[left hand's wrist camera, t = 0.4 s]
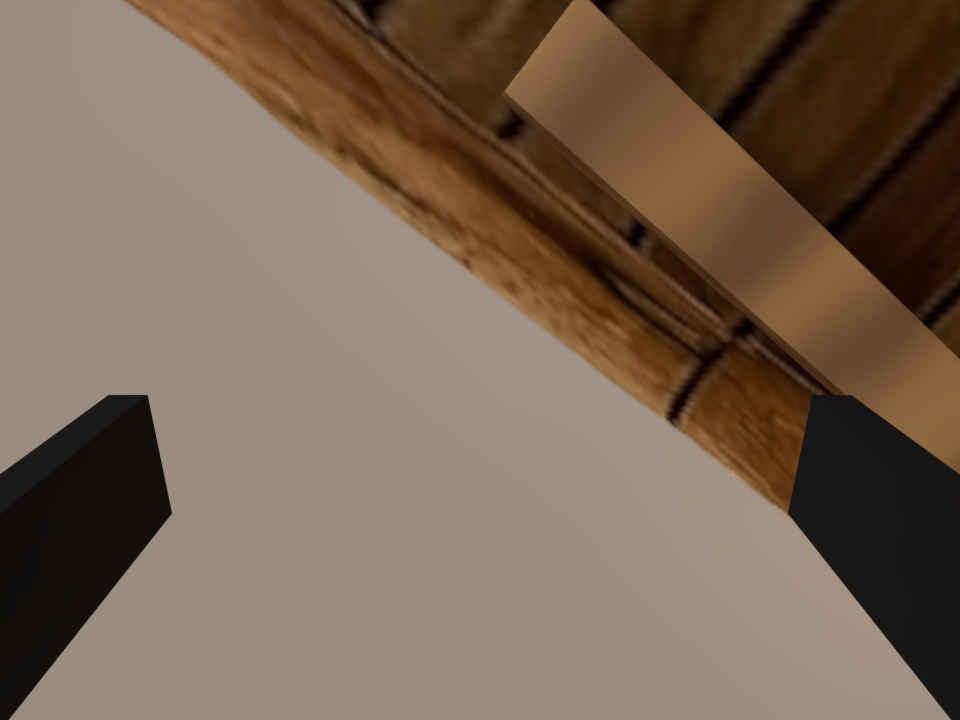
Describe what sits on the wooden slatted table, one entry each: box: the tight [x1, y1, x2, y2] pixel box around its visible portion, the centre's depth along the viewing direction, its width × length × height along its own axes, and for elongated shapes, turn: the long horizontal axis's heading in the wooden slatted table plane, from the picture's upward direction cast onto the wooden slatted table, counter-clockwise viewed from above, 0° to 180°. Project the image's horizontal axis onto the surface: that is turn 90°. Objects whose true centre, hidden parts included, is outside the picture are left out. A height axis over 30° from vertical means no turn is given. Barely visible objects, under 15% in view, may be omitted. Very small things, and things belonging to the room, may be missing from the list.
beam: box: [499, 0, 960, 474], centre depth 34 cm, size 59×4×8 cm, turn 51°
